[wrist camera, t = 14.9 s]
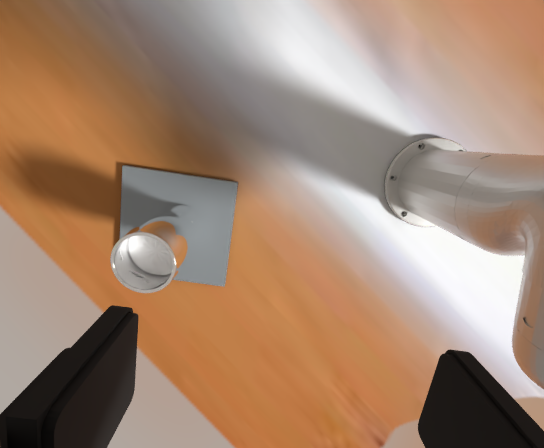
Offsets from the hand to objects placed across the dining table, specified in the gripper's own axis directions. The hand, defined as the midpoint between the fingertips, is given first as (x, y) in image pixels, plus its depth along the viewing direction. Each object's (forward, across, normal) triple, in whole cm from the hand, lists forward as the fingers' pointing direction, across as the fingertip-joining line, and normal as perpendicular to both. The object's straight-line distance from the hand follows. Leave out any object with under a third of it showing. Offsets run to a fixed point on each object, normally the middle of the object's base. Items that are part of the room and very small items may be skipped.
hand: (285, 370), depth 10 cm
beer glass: (+38, +12, +7) cm, 40 cm away
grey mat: (+38, +13, +8) cm, 41 cm away
